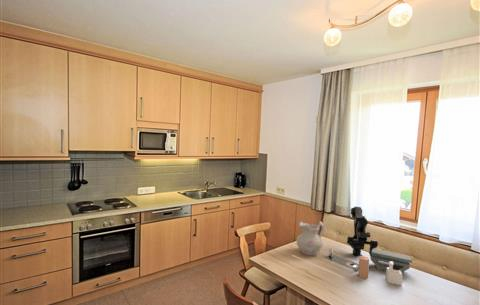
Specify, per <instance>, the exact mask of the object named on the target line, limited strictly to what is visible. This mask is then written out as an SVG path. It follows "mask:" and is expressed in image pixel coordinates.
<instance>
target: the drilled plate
mask: <svg viewBox="0 0 480 305" xmlns="http://www.w3.org/2000/svg"><path fill="white" fill-rule="evenodd" d="M325 259H326V260H328V261H330V262H331V261H332V262H334V263H336V264H338V265H341V266H344V267H347V268H348V269H352V270H353V272H355V273H356V272H358V270H359V263H357V262H354V261H351V260H348V259H346V258H343V257H341V256H338V255H336V254H333V255H332V257H329V255H328V256H327V257H325Z"/></svg>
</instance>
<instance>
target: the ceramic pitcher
mask: <svg viewBox="0 0 480 305" xmlns="http://www.w3.org/2000/svg"><path fill="white" fill-rule="evenodd" d="M324 225H325V224H324V223H323V221H321V220H319V221H317V224H309V223H307V222H303V221H299V222H298V227H299V228H301V231H302V232H301V233H300V234H299V235H297V237H296V245H297V247H298V249H299V250H300V251H301V253H302V254H305V255H308V256H315V255H316V254H318V253H319V252H320V251H321V250H322V248H323V241H322V236H323V234H324V233H323V232H324V229H325V227H324ZM319 230H320V231H319ZM318 233H319V234H318Z"/></svg>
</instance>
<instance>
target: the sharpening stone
mask: <svg viewBox="0 0 480 305" xmlns="http://www.w3.org/2000/svg"><path fill="white" fill-rule="evenodd" d="M368 254H369V256H370V247H369V248H368ZM390 261H394V262H397V263H399V264H400V271H401V273H402V274H403V273H404V272H405V271H407V270H409V269H410V268H411V266H410V264H412V263H413V259H412V256H411V255H406V254H402V253H397V252H396V253H395V252H391V251H385V250H382V249H381V250H380V249H377V248H375V249H372V253H371V256H370V262H372V263H373V264H374V265H375V267H376V268H377V269H378V270H380V271H384V272H386V270H387V267H389V262H390Z"/></svg>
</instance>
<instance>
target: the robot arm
mask: <svg viewBox="0 0 480 305" xmlns="http://www.w3.org/2000/svg"><path fill="white" fill-rule="evenodd" d="M350 215H351V218H352V219H353V236H347V237H346V238H347V239H346V244H348V245H349V246H350V247H351V248H352V256H354V257H359V256H363V254H362V250H364V249H365V245H369V248H370V254H369V256H371V253H372V249H377V247H378V246H379V242H378V240H375V239H374V240H373V239H370V241H368V238H371V232H369V231H367V232H366V229H367V225H369V221H368V220H367V218H366V216H365V215H363V209H362V207H361V206H353V207H352V208H350Z"/></svg>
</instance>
